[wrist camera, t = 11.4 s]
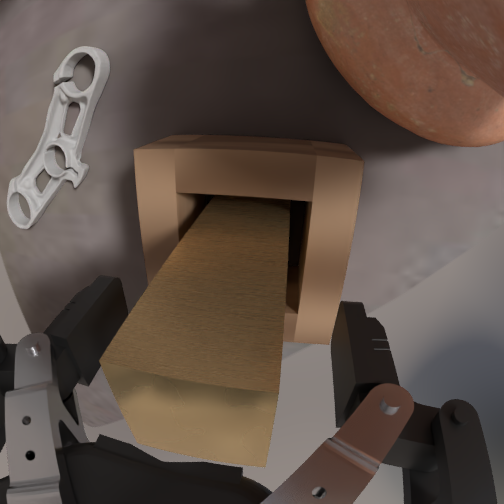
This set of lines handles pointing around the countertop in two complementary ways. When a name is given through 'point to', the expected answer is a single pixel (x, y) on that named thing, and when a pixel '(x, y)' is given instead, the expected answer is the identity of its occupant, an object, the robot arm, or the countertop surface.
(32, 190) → the bracket
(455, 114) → the ceramic jug
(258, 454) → the tan wooden square peg
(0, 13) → the countertop surface
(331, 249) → the walnut block
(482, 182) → the countertop surface
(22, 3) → the countertop surface
